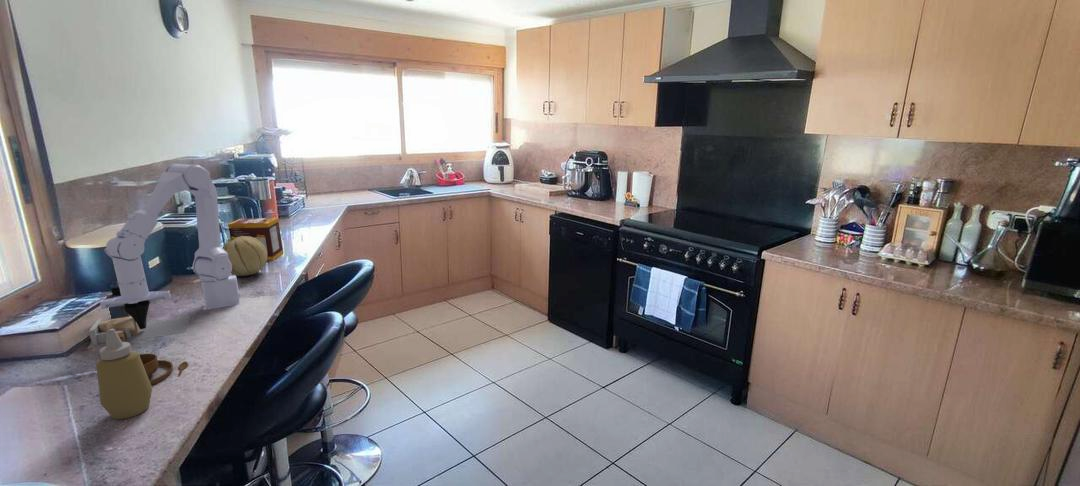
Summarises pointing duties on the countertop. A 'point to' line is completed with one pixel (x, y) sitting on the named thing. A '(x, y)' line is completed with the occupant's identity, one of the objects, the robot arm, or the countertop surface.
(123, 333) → the plunger
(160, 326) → the socket board
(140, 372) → the squeeze bottle
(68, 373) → the countertop surface
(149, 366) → the place setting
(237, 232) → the supplement box
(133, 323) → the peg
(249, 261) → the cantaloupe
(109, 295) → the vaping device
